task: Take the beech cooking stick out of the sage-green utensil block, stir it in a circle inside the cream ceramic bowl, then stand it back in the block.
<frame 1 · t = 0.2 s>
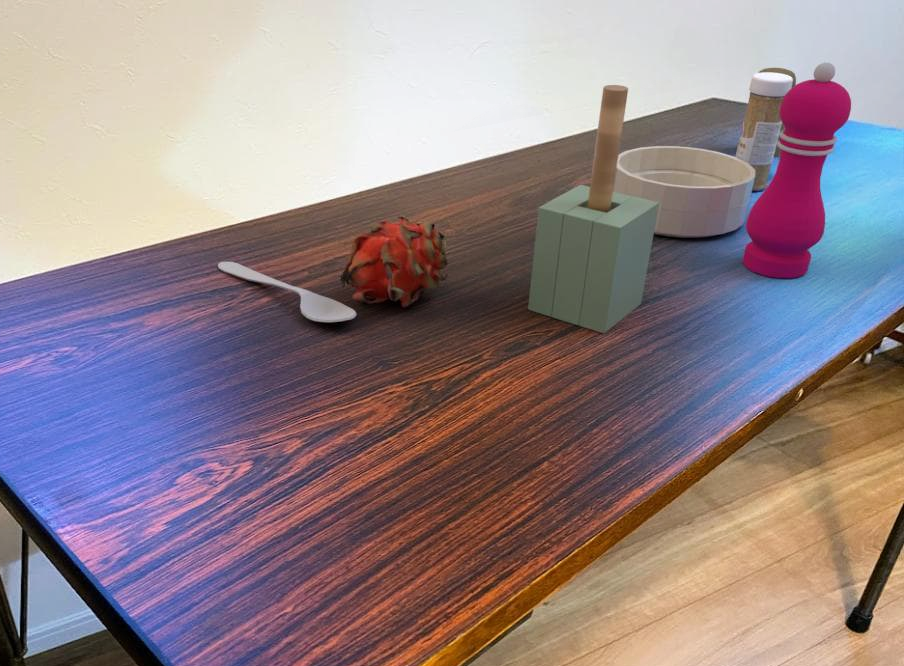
pepper mill: (773, 268, 93), on the table
utensil block: (584, 307, 85), on the table
spoon: (282, 297, 88), on the table
labeled spice jar: (758, 152, 127), on the table
sprinkles bottle: (747, 187, 114), on the table
dragon fruit: (393, 301, 87), on the table
cooking stick: (599, 204, 80), in a hole of the utensil block
bowl: (673, 216, 105), on the table
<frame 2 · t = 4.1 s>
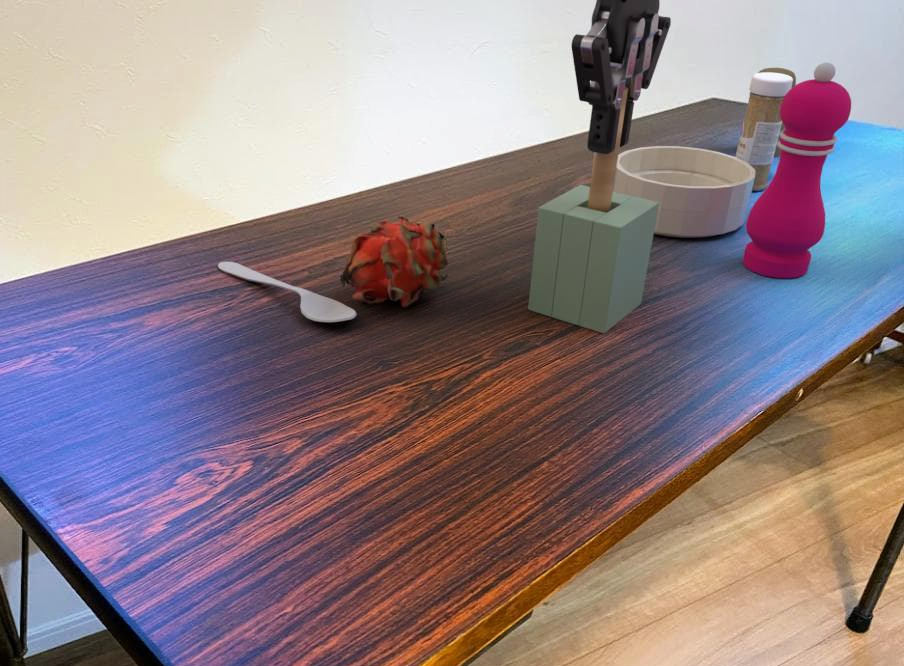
hand: (607, 147, 77), 15 cm above the table, tool pointing down, fingers closed on cooking stick, 2 cm apart
cooking stick: (599, 204, 80), in a hole of the utensil block, touching gripper
everything else where it was.
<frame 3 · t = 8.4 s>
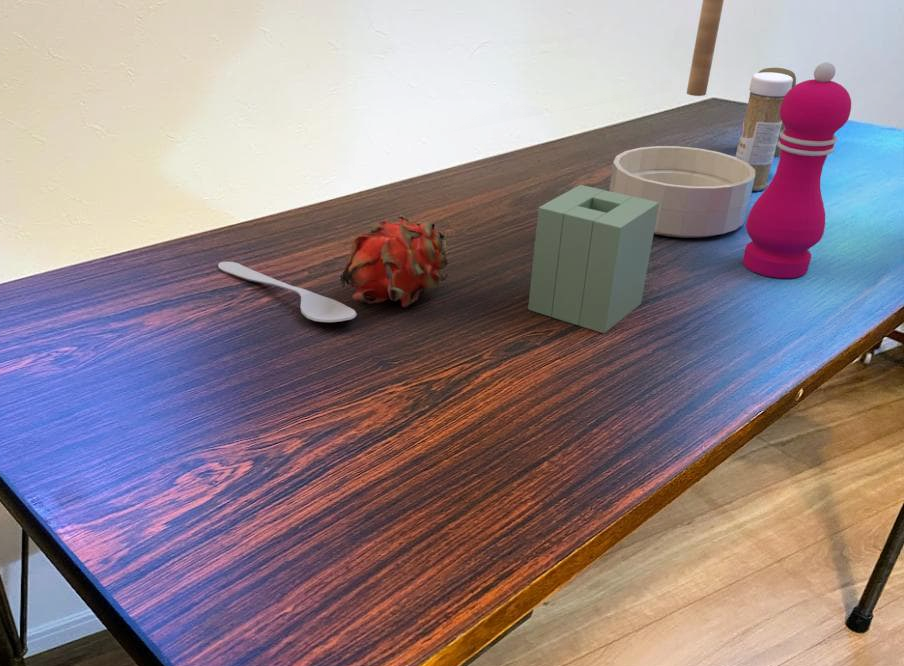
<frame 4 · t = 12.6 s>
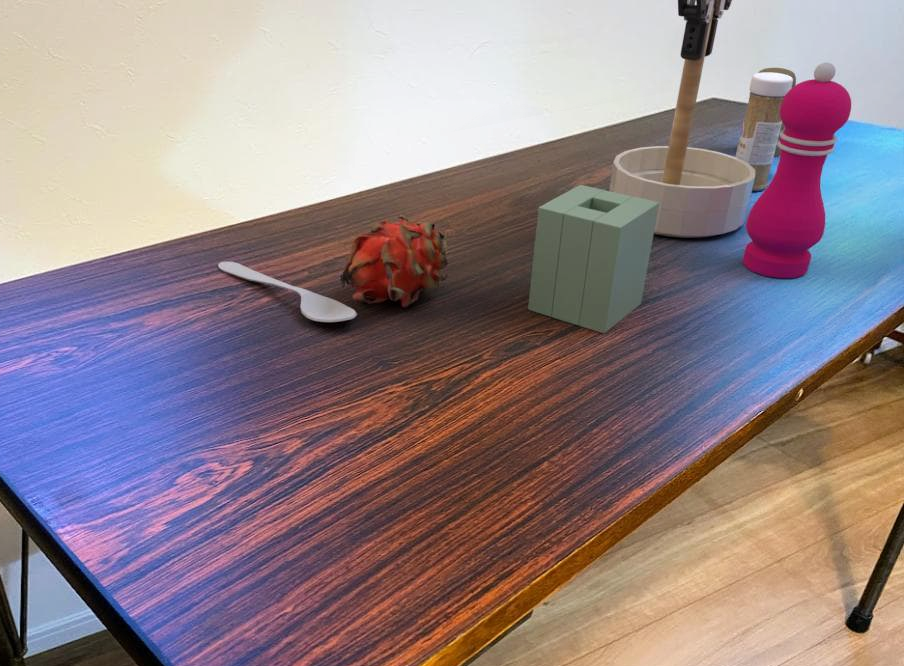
hand: (695, 56, 98), 17 cm above the table, tool pointing down, fingers closed on cooking stick, 2 cm apart
cooking stick: (686, 104, 101), point 12 cm above the table, touching gripper
everything else where it was.
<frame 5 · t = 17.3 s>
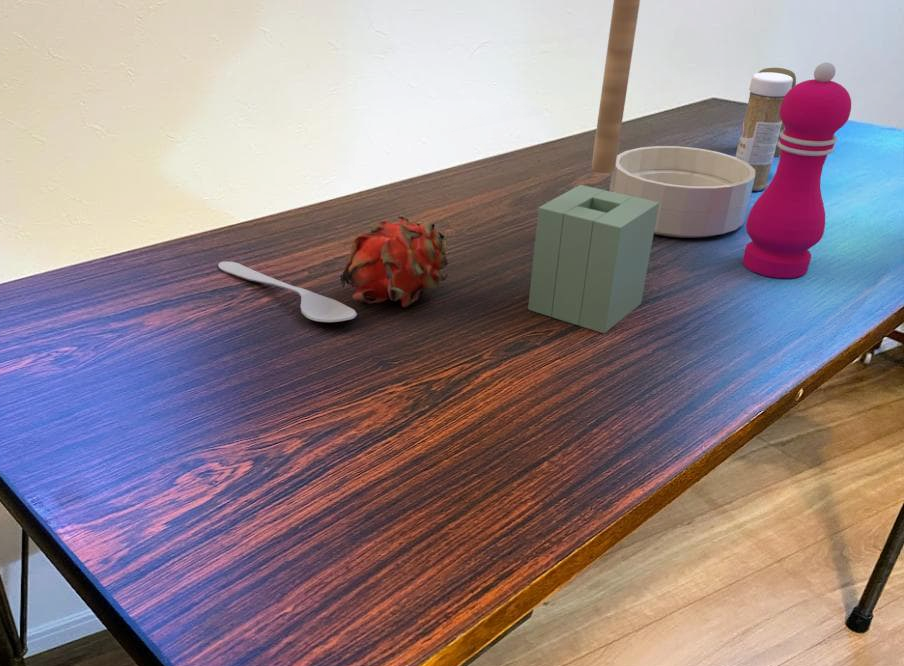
cooking stick: (620, 47, 73), point 23 cm above the table, touching gripper
everything else where it was.
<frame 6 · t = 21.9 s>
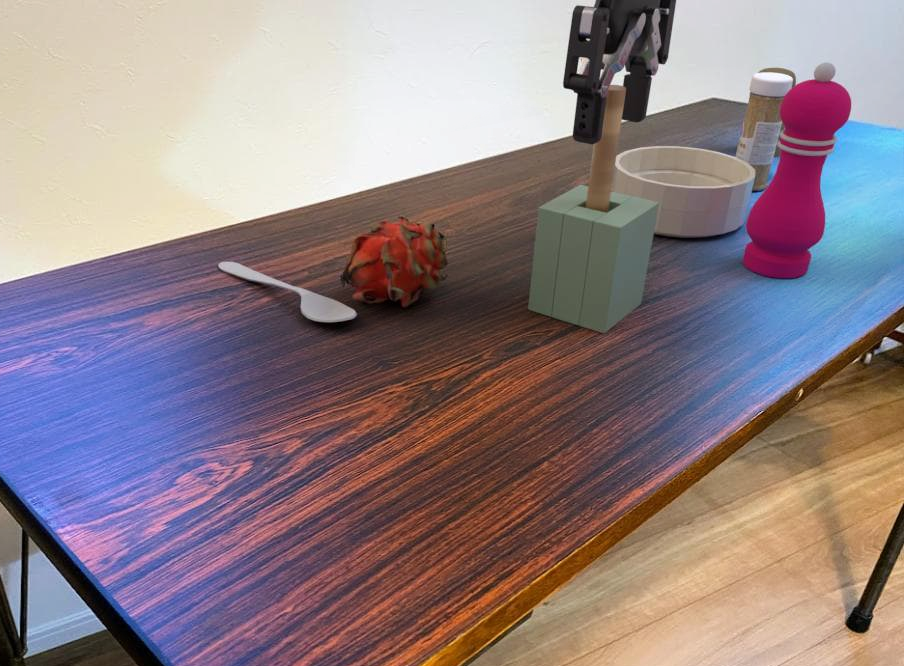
hand: (609, 130, 76), 16 cm above the table, tool pointing down, fingers open, 8 cm apart
cooking stick: (597, 204, 80), in a hole of the utensil block
everything else where it was.
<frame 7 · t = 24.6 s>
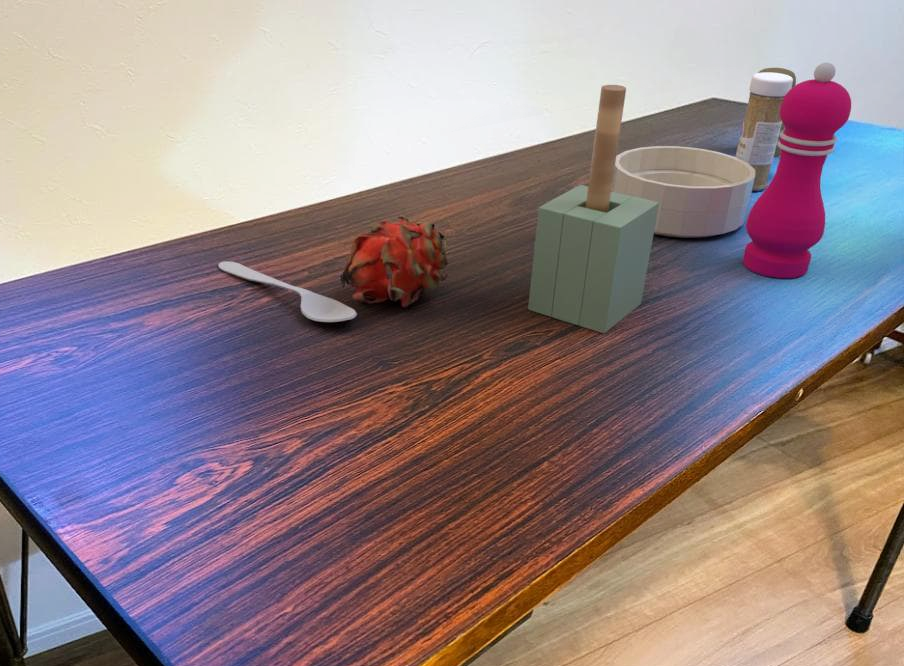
nothing on the table moved.
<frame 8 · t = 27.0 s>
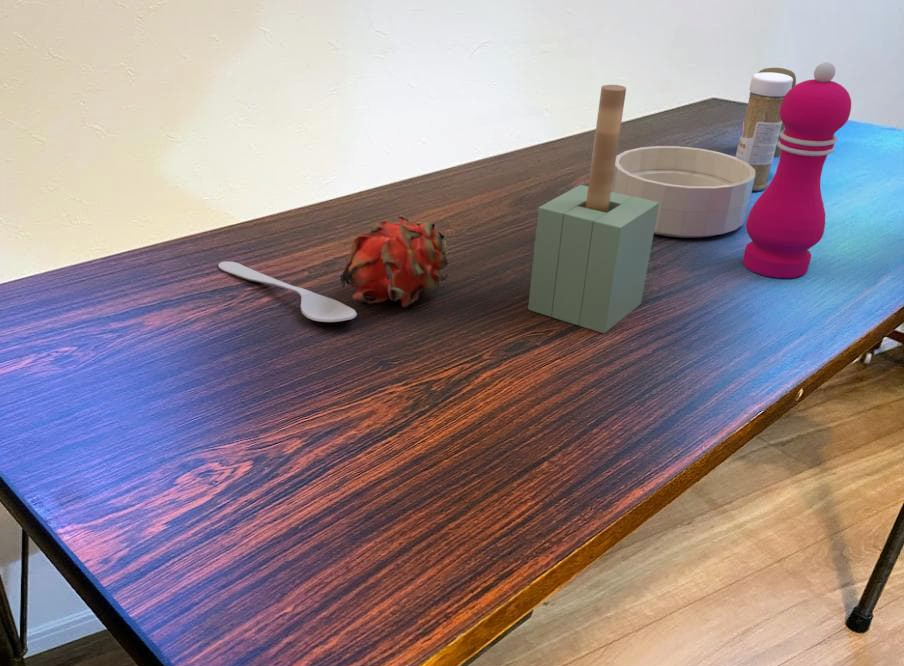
nothing on the table moved.
at the end: cooking stick 0.2 cm off-centre in the utensil block, point 10.0 cm above the utensil block's base; cooking stick tilted 0°; cooking stick touching table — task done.
